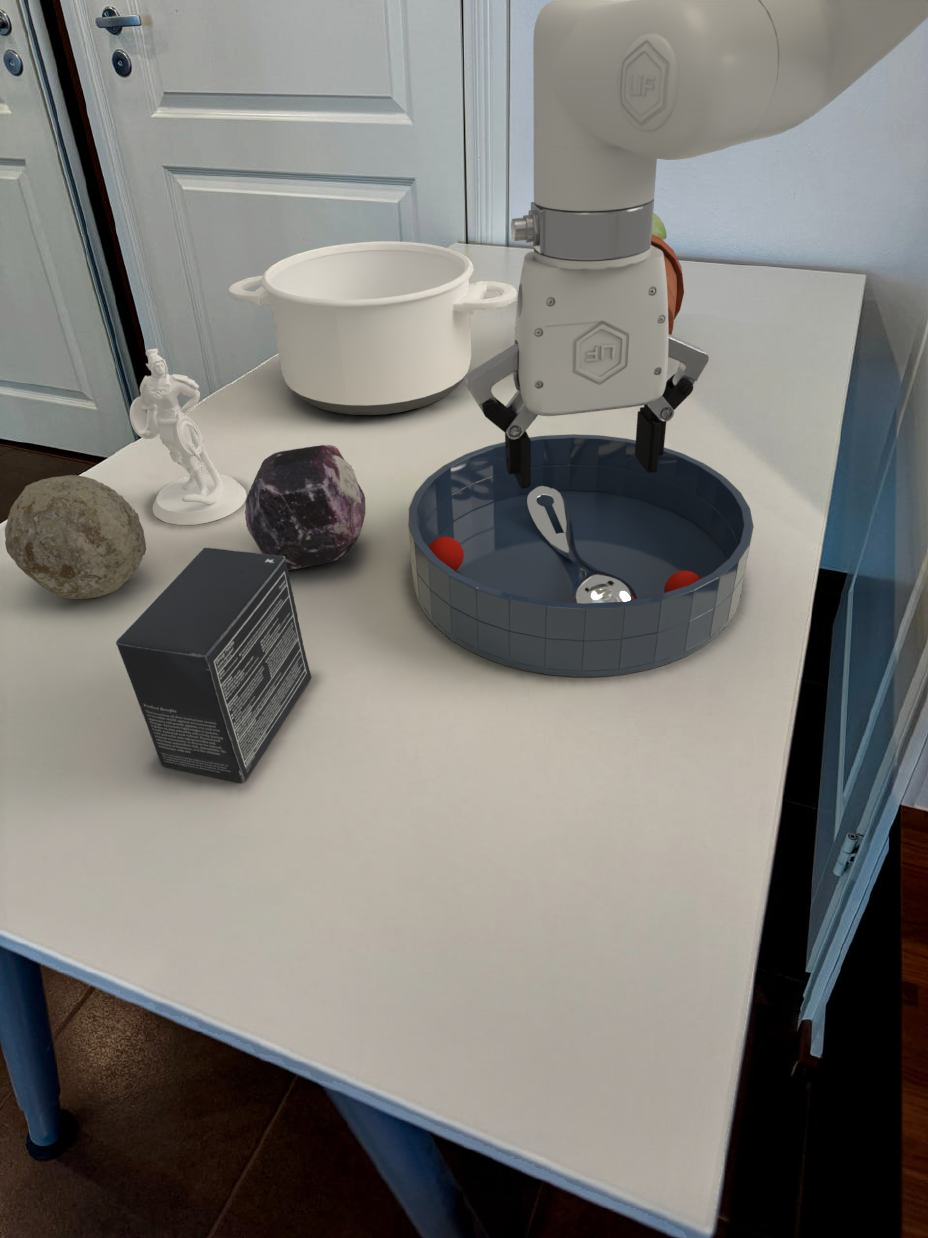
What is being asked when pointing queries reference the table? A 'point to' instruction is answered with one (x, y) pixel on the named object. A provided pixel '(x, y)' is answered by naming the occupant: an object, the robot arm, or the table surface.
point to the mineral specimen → (305, 506)
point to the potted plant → (669, 271)
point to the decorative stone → (75, 536)
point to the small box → (218, 662)
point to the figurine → (181, 449)
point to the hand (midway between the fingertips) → (584, 472)
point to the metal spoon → (576, 553)
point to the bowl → (604, 538)
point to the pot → (373, 323)
